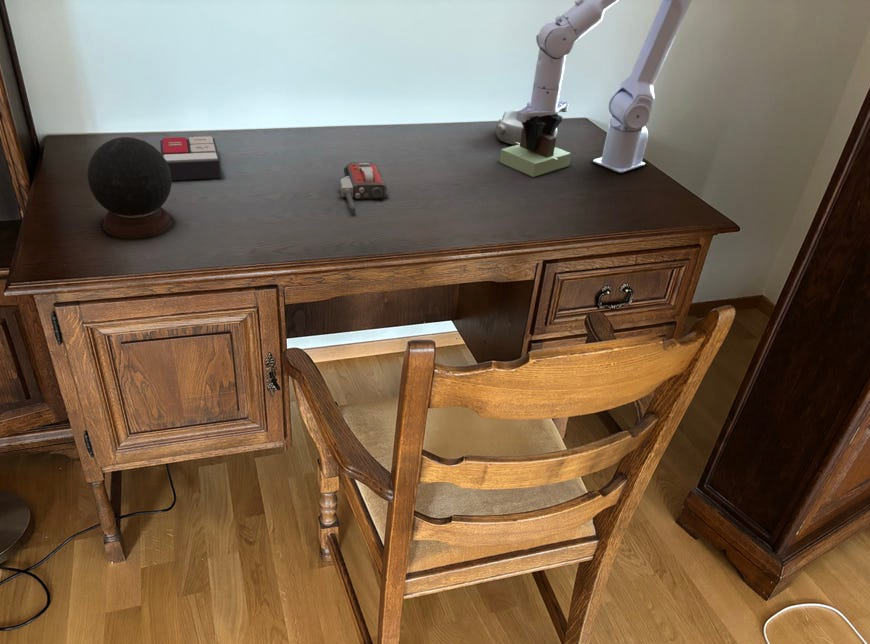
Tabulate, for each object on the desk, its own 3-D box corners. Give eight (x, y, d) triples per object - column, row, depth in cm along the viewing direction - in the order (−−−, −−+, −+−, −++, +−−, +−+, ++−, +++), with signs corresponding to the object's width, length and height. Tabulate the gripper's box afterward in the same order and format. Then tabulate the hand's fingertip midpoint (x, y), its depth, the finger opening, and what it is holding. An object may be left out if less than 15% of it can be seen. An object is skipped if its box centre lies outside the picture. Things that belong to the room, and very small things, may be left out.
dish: (496, 146, 173) (499, 125, 170) (491, 127, 185) (493, 106, 182) (557, 150, 174) (561, 129, 171) (548, 130, 185) (552, 110, 182)
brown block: (553, 155, 163) (556, 136, 160) (546, 157, 161) (550, 138, 159) (526, 144, 167) (529, 125, 165) (519, 146, 166) (522, 127, 163)
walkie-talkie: (334, 174, 153) (347, 216, 138) (334, 154, 151) (347, 194, 135) (376, 174, 155) (393, 215, 139) (377, 153, 153) (395, 193, 137)
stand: (531, 150, 173) (533, 137, 171) (572, 167, 166) (575, 153, 164) (495, 160, 166) (497, 146, 164) (536, 179, 159) (538, 164, 157)
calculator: (214, 134, 157) (219, 156, 145) (215, 154, 160) (221, 178, 148) (159, 136, 154) (160, 159, 142) (162, 156, 157) (163, 181, 145)
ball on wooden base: (100, 245, 123) (83, 157, 114) (94, 212, 132) (77, 128, 123) (183, 235, 127) (172, 150, 119) (170, 204, 137) (160, 123, 128)
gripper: (554, 76, 162) (544, 137, 170) (509, 85, 154) (500, 149, 162) (580, 84, 158) (568, 147, 166) (535, 94, 150) (524, 159, 158)
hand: (536, 148), depth 164 cm, fingers open, 3 cm apart
